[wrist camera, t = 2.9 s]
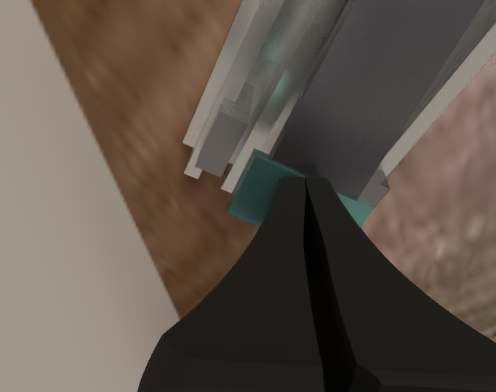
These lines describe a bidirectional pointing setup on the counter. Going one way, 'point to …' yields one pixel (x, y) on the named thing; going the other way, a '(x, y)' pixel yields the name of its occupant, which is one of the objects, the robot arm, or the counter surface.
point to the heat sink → (293, 81)
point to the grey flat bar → (356, 100)
